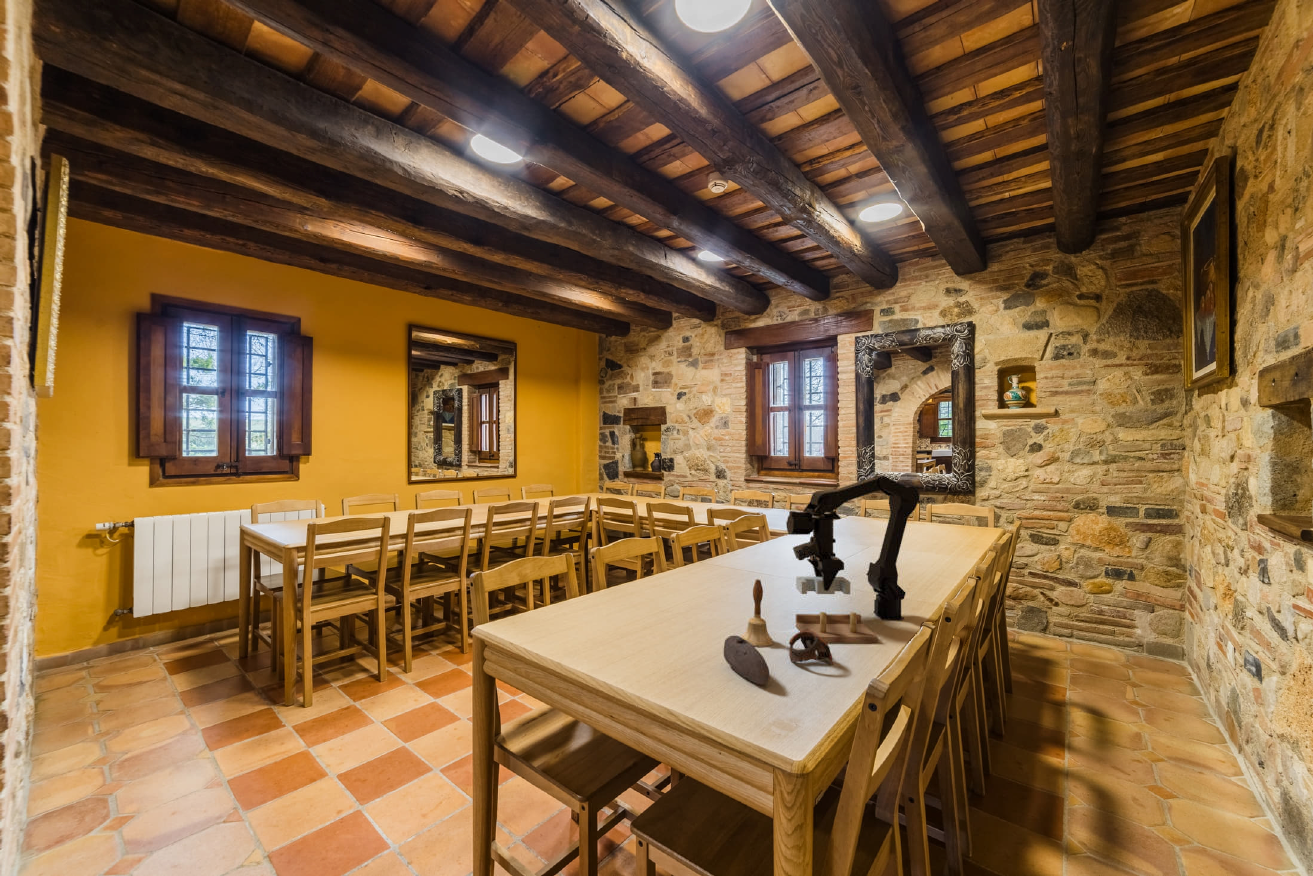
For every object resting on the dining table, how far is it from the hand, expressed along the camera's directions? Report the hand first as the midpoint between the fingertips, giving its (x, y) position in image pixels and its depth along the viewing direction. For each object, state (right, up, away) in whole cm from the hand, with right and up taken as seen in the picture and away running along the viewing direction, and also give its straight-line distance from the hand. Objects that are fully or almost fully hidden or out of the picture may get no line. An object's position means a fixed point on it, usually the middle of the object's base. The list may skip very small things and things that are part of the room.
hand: (822, 587), depth 157 cm
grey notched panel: (0, -1, 0) cm, 1 cm away
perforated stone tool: (-29, -9, -39) cm, 49 cm away
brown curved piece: (-12, -9, -31) cm, 34 cm away
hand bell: (-23, -9, -18) cm, 31 cm away
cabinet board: (-1, -9, -13) cm, 16 cm away
